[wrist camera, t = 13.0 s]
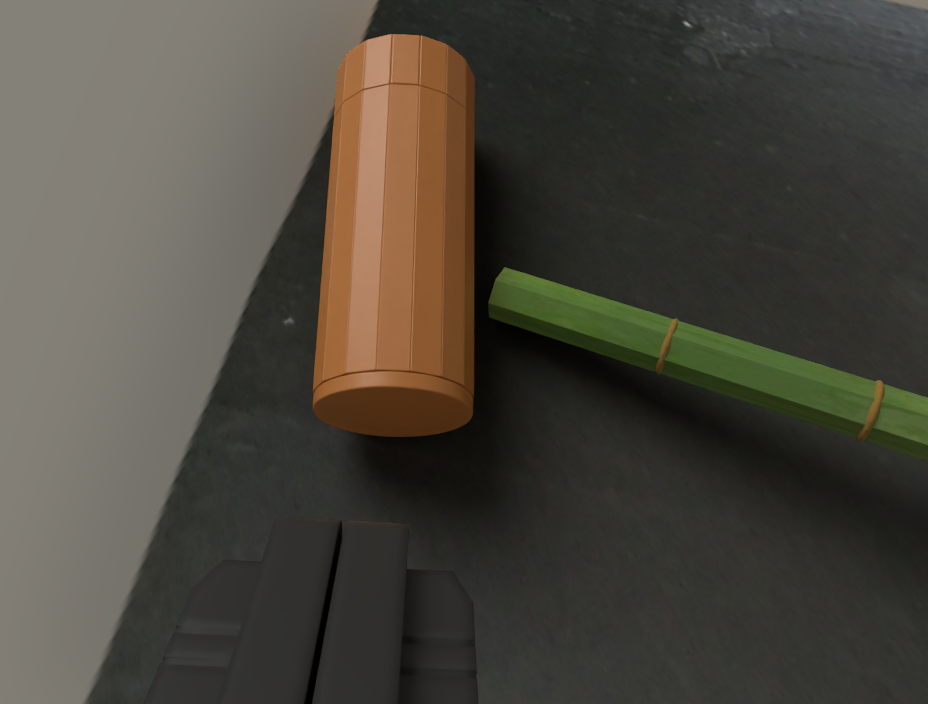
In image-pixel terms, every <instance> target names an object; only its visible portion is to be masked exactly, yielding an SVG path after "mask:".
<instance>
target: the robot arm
mask: <svg viewBox="0 0 928 704" xmlns="http://www.w3.org/2000/svg"><path fill="white" fill-rule="evenodd" d="M408 536H409V524H399V523H381V522H363V521H346V523H345V528H344V533H343V538H342V521H340V520H322V519H304V518H286V517H277V518H276V519H275V521H274V524H273V527H272V530H271V533H270V536H269V539H268V543H267V546H266V549H265V552H264V555H263V558H262V561H261V562H255V561H236V560H223V561H222V562H221V563H220V564H219V565H218V566H216V567H215V568H214V569H213V570H212V571H211V572H210V573H209V574H208V575H207V576H206V577H205V578H203V579H202V580H201V581H200V582H199V583H198V584H197V585H196V586H195V587H194V588H193V589H192V590H191V592H190V594H189V597H188V599H187V601H186V604H185V606H184V609H183V611H182V613H181V616H180V618H179V620H178V623H177V625H176V632H175V633H173V635H172V637H171V639H170V642H169V644H168V647H167V649H166V651H165V654H164V656H163V663H162V665H160V666H159V668H158V670H157V673H156V675H155V677H154V680H153V682H152V684H151V687H150V689H149V692H148V694H147V696H146V699H145V701H144V703H143V704H478V689H477V679H476V672H477V669H476V648H475V628H474V608H473V602H472V601H471V599H470V597H469V596H468V594H467V593H466V591H465V590H464V588H463V586H462V585H461V583H460V582H459V580H458V579H457V577H456V575H455V574H454V572H451V571H432V570H412V569H406V568H407V552H408Z"/></svg>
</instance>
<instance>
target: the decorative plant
mask: <svg viewBox="0 0 928 704" xmlns="http://www.w3.org/2000/svg"><path fill="white" fill-rule="evenodd" d="M488 307H489V318H492V319H495V320H498V321H501V322H504V323H507V324H510V325H514V326H517V327H520V328H523V329H526V330H529V331H532V332H535V333H538V334H541V335H544V336H547V337H550V338H553V339H556V340H559V341H562V342H565V343H568V344H571V345H574V346H577V347H580V348H584V349H587V350H590V351H593V352H596V353H599V354H602V355H605V356H608V357H611V358H614V359H617V360H620V361H623V362H626V363H629V364H632V365H635V366H638V367H641V368H644V369H647V370H650V371H654V372H656V373H657V374H663V375H666V376H669V377H672V378H675V379H678V380H681V381H684V382H687V383H690V384H693V385H696V386H699V387H702V388H705V389H708V390H711V391H714V392H717V393H720V394H724V395H727V396H730V397H733V398H736V399H739V400H742V401H745V402H748V403H751V404H754V405H757V406H760V407H763V408H766V409H769V410H772V411H775V412H778V413H781V414H784V415H787V416H790V417H794V418H797V419H800V420H803V421H806V422H809V423H812V424H815V425H818V426H821V427H824V428H827V429H830V430H833V431H836V432H839V433H842V434H845V435H848V436H851V437H854V438H856V440H857V441H863V440H864V441H867V442H870V443H873V444H876V445H879V446H882V447H885V448H888V449H891V450H894V451H897V452H900V453H903V454H906V455H909V456H912V457H915V458H918V459H921V460H924V461H927V462H928V398H927V397H923V396H920V395H917V394H914V393H910V392H907V391H904V390H901V389H897V388H894V387H891V386H888V385H884V384H883V382H882V381H880V380H878V381H876V382H875V381H872V380H868V379H865V378H862V377H859V376H855V375H852V374H849V373H846V372H842V371H839V370H836V369H833V368H829V367H826V366H823V365H820V364H817V363H813V362H810V361H807V360H804V359H800V358H797V357H794V356H791V355H787V354H784V353H781V352H778V351H774V350H771V349H768V348H765V347H761V346H758V345H755V344H752V343H749V342H745V341H742V340H739V339H736V338H732V337H729V336H726V335H723V334H719V333H716V332H713V331H710V330H706V329H703V328H700V327H697V326H693V325H690V324H687V323H684V322H681V321H679V320H678V319H671V318H668V317H664V316H661V315H658V314H655V313H651V312H648V311H645V310H642V309H638V308H635V307H632V306H629V305H626V304H622V303H619V302H616V301H613V300H609V299H606V298H603V297H600V296H596V295H593V294H590V293H587V292H583V291H580V290H577V289H574V288H570V287H567V286H564V285H561V284H558V283H554V282H551V281H548V280H545V279H541V278H538V277H535V276H532V275H528V274H525V273H522V272H519V271H515V270H512V269H509V268H506V267H504V269H503V270H502V271H501V273H500V274H499V276H498V277H497V278H496V280H495V283H494V286H493V289H492V293H491V296H490V299H489V302H488Z"/></svg>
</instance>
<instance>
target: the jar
mask: <svg viewBox="0 0 928 704" xmlns="http://www.w3.org/2000/svg"><path fill="white" fill-rule="evenodd" d="M313 393H314V398H313V412H314V414H315V415H316V416H317V418H319V419H320V420H321V421H323V422H325V423H326V424H328V425H331V426H333V427H336V428H339V429H342V430H346V431H350V432H354V433H359V434H365V435H373V436H385V437H415V436H426V435H433V434H439V433H444V432H448V431H451V430H454V429H457V428H459V427H461V426H463V425H465V424H466V423H468V422H469V421H470V420H471V418H472V416H473V397H474V76H473V74H472V72H471V70H470V68H469V66H468V64H467V62H466V60H465V58H463V57H462V56H461V55H460V54H458V53H457V52H456V51H455V50H453V49H452V48H451V47H450V46H448V45H446V44H444V43H442V42H439V41H436V40H433V39H430V38H427V37H425V36H421V37H420V36H419V35H400V34H394V35H392V34H389V35H385V36H381V37H377V38H373V39H369V40H367V41H364V42H363V43H361V44H360V45H358V46H357V47H355V48H354V49H352V50H351V51H350V52H348V54H347V55H346V56H345V58H344V60H343V62H342V64H341V66H340V68H339V70H338V74H337V87H336V100H335V113H334V124H333V137H332V150H331V163H330V176H329V189H328V202H327V215H326V228H325V241H324V253H323V266H322V279H321V292H320V305H319V318H318V331H317V344H316V357H315V370H314V383H313Z"/></svg>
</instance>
